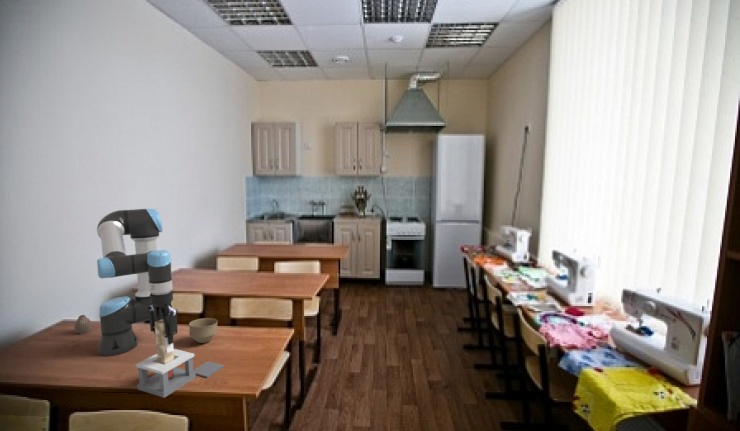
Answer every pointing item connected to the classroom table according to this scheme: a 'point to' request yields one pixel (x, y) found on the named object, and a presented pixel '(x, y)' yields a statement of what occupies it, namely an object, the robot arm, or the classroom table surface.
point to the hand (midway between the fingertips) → (165, 350)
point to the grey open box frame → (165, 374)
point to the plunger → (170, 373)
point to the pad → (207, 369)
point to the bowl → (203, 329)
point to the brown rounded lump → (82, 324)
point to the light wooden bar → (162, 344)
